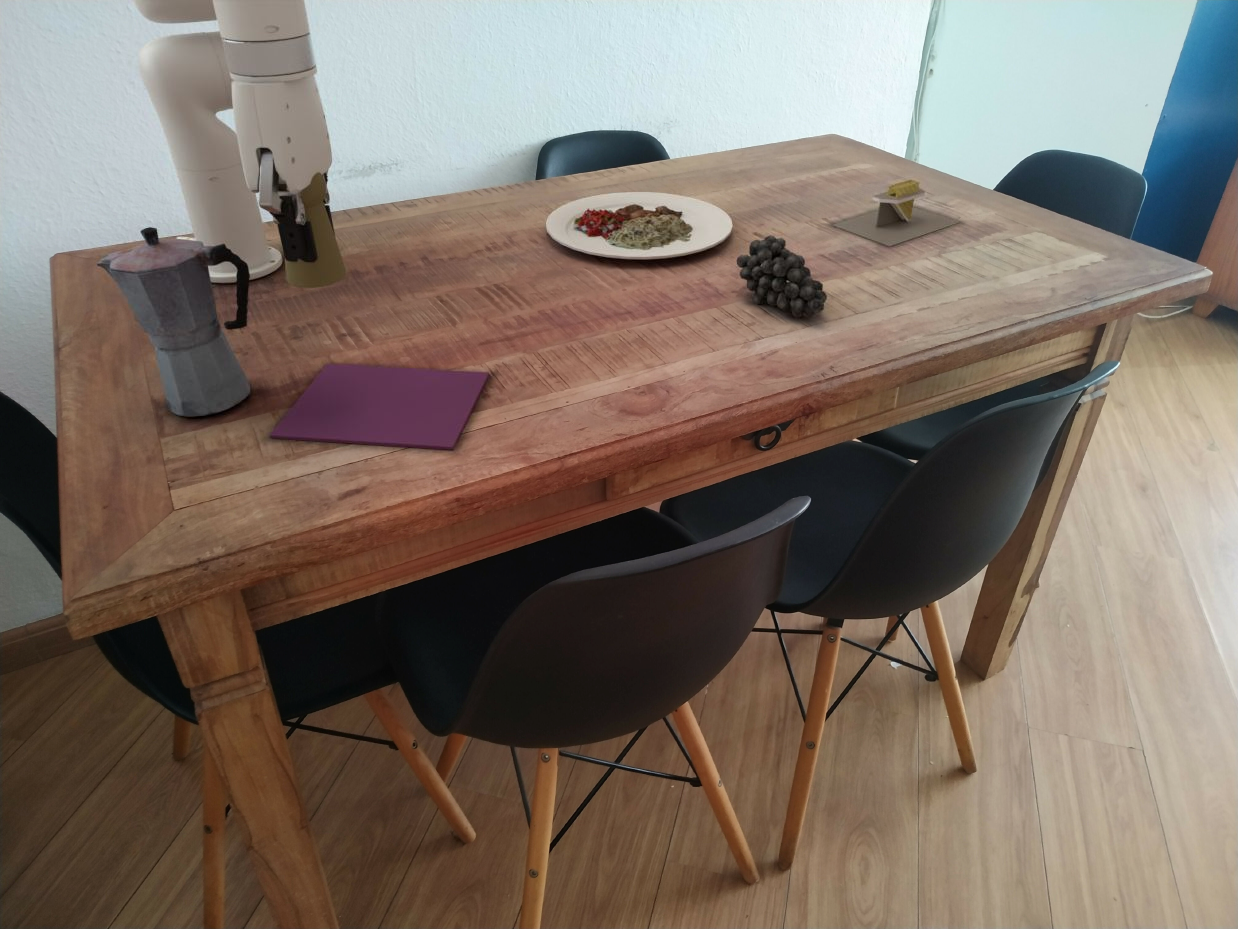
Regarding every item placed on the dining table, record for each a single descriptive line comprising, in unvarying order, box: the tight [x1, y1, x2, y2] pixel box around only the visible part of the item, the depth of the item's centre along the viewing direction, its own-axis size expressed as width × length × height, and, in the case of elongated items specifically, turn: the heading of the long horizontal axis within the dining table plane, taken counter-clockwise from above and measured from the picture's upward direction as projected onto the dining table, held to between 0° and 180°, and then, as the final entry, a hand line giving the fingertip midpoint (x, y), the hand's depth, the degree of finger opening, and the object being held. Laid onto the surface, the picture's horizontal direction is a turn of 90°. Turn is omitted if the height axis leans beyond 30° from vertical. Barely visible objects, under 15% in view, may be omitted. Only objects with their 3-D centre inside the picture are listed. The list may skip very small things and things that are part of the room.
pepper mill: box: [278, 172, 348, 289], centre depth 89 cm, size 6×6×11 cm
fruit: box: [736, 235, 828, 319], centre depth 119 cm, size 9×8×15 cm
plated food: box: [545, 191, 733, 261], centre depth 143 cm, size 30×30×3 cm
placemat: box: [269, 363, 490, 451], centre depth 100 cm, size 20×16×1 cm
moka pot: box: [96, 226, 251, 418], centre depth 96 cm, size 10×15×20 cm, turn 95°
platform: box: [832, 178, 960, 247], centre depth 146 cm, size 12×18×7 cm, turn 127°
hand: (311, 250), depth 90 cm, fingers closed on pepper mill, 4 cm apart
